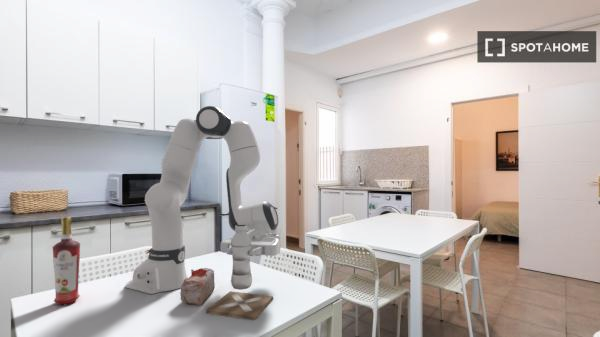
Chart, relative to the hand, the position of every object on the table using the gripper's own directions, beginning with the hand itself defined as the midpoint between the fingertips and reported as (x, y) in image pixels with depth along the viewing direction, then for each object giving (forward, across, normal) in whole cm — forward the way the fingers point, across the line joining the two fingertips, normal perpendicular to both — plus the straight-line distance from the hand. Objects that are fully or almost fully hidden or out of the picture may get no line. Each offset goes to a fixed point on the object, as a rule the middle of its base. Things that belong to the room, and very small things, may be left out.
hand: (239, 252), depth 100 cm
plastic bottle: (-1, 0, +12) cm, 12 cm away
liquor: (+12, -57, +17) cm, 61 cm away
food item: (-2, -17, +17) cm, 24 cm away
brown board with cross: (-1, 0, +17) cm, 17 cm away
